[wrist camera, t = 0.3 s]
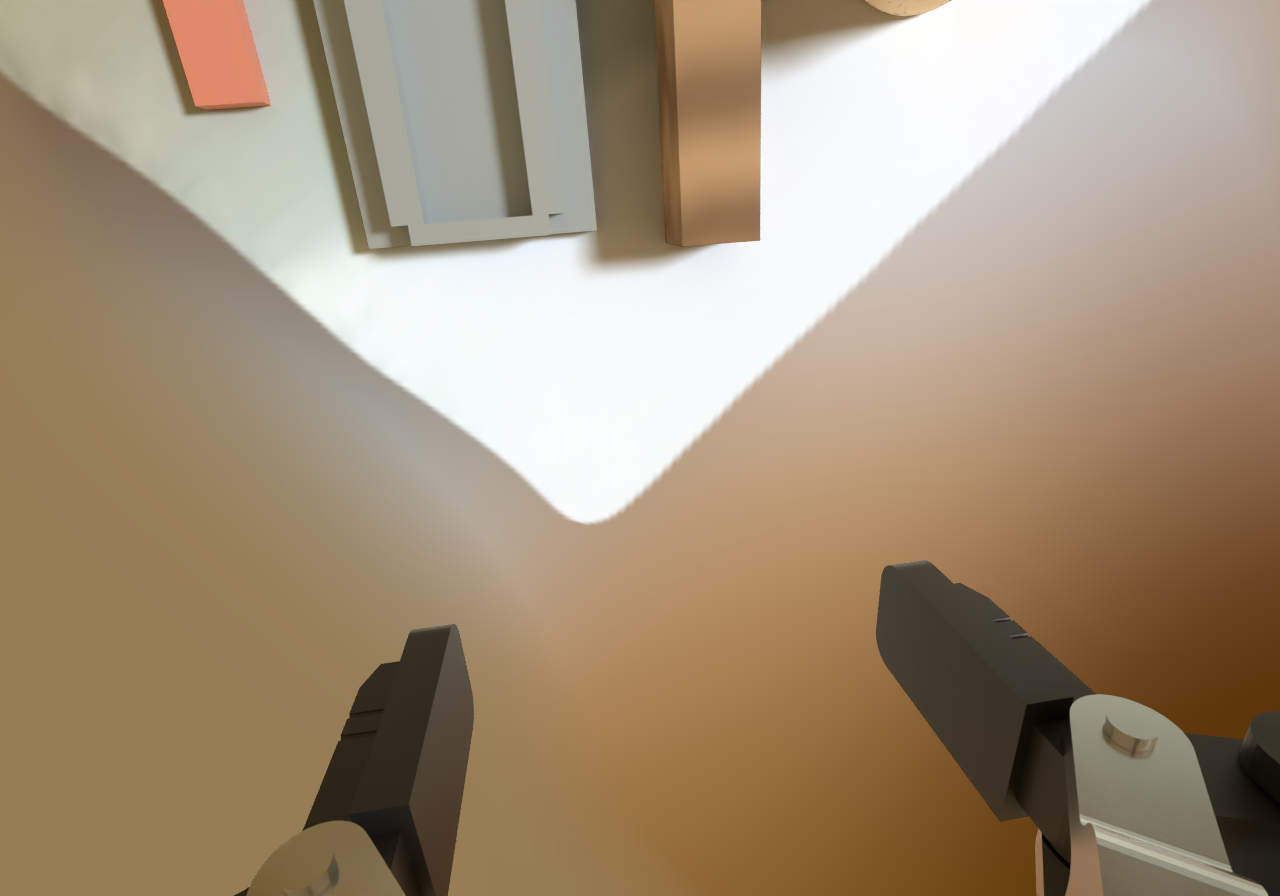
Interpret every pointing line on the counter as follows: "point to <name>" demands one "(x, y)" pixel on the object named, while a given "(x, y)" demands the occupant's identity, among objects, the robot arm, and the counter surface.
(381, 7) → the cradle jig
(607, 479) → the counter surface
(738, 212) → the plank with peg
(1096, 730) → the robot arm
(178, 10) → the salmon pink bar
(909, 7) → the teacup with lid
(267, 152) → the counter surface
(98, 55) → the counter surface
